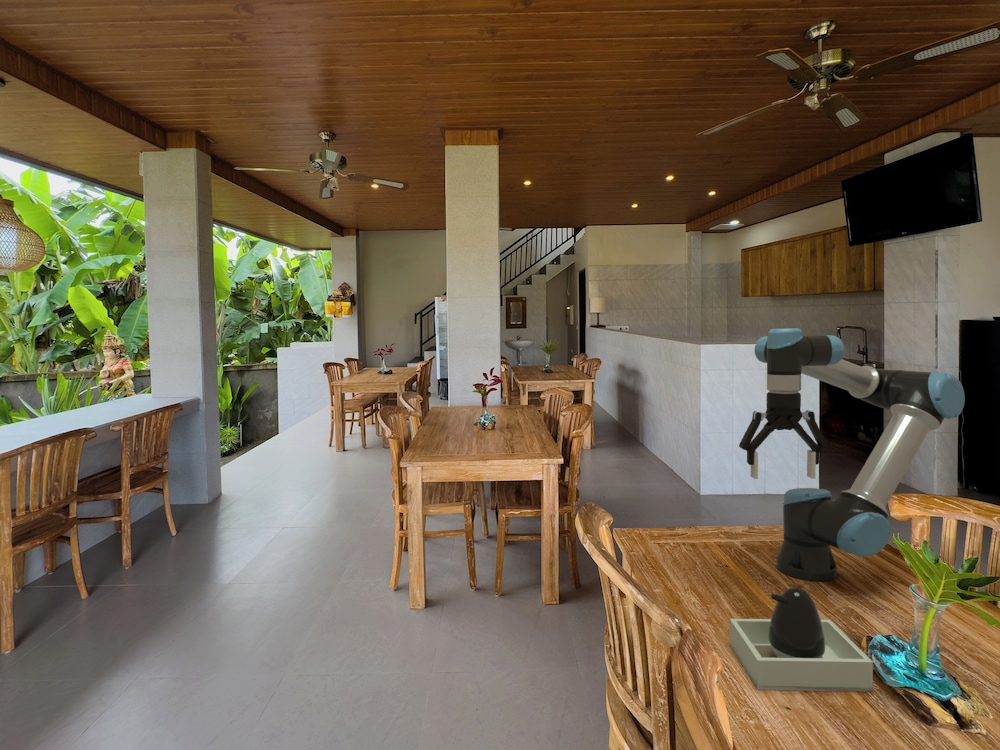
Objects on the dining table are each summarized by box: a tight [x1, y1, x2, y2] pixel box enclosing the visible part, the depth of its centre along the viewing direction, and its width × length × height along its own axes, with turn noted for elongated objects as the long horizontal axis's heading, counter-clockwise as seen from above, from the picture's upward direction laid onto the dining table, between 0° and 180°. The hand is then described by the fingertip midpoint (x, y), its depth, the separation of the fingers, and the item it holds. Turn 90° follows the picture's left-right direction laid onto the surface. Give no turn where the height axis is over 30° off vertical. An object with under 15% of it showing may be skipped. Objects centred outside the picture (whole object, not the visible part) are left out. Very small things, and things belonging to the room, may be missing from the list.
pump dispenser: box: [768, 586, 825, 658], centre depth 116 cm, size 10×10×15 cm
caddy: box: [729, 618, 874, 693], centre depth 117 cm, size 21×16×6 cm
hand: (782, 477), depth 142 cm, fingers open, 13 cm apart
